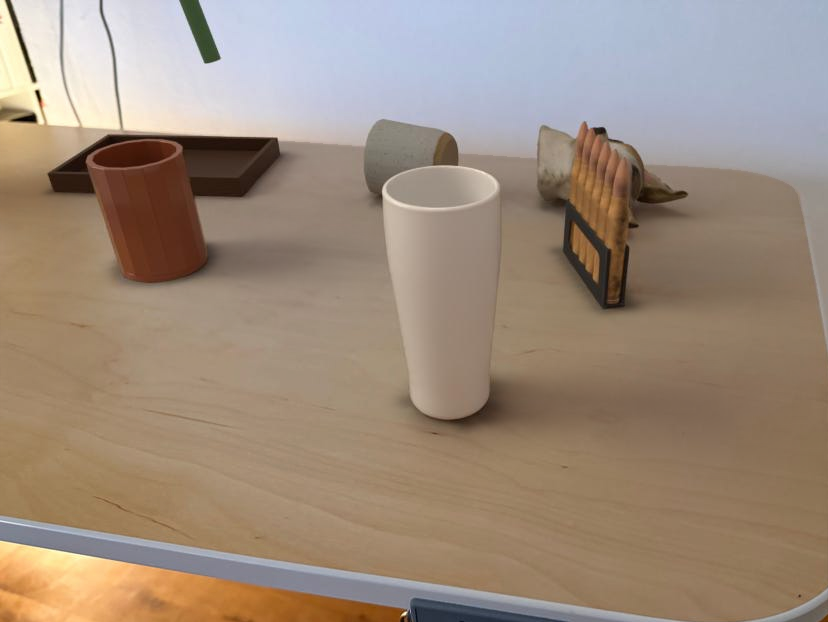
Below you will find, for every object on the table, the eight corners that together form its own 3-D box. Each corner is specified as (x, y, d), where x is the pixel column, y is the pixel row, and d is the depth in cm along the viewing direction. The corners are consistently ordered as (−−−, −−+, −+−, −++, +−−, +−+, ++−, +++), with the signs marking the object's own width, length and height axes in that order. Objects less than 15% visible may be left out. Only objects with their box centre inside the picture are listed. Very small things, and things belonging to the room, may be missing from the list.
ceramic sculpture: (573, 97, 78) (703, 134, 70) (565, 175, 83) (685, 219, 75) (508, 122, 71) (644, 167, 64) (504, 206, 76) (629, 256, 69)
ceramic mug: (440, 214, 75) (437, 137, 71) (365, 205, 77) (358, 130, 73) (471, 178, 84) (470, 108, 79) (402, 171, 86) (398, 102, 81)
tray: (242, 196, 80) (238, 177, 78) (53, 191, 81) (46, 173, 80) (280, 154, 90) (277, 137, 89) (113, 150, 92) (107, 134, 91)
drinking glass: (405, 369, 53) (388, 164, 45) (501, 370, 53) (502, 164, 44) (393, 430, 48) (371, 209, 39) (500, 432, 47) (501, 210, 39)
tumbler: (105, 280, 64) (67, 168, 59) (144, 243, 70) (114, 138, 65) (188, 283, 64) (158, 170, 58) (220, 245, 70) (196, 139, 64)
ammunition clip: (562, 250, 68) (570, 118, 61) (581, 248, 69) (591, 116, 62) (602, 308, 60) (617, 162, 53) (624, 306, 60) (641, 160, 53)
